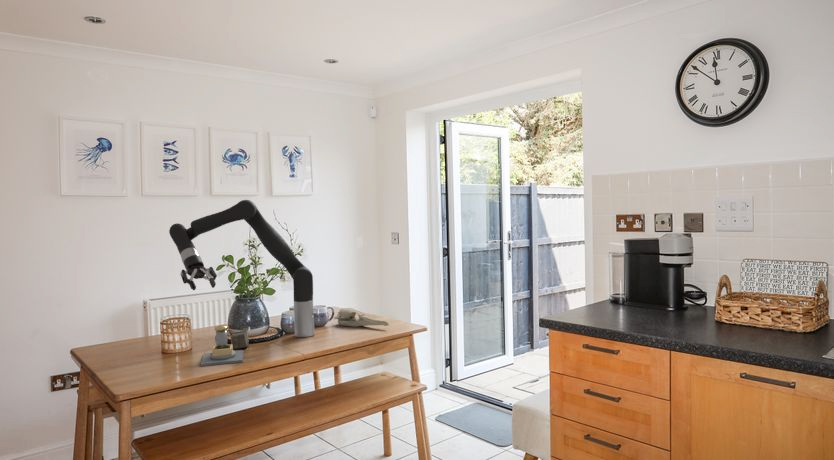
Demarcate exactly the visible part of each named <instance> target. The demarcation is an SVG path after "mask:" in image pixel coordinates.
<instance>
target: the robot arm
mask: <svg viewBox="0 0 834 460" xmlns="http://www.w3.org/2000/svg"><path fill="white" fill-rule="evenodd" d="M243 220H244V221H245V222H246V223H247V224H248V225H249V226H250V228H251V229H253V231H254V232H255V234H256V236H257V237H258V239H259V241H260V242H261V244H262V245H263V247H264V249H266V250H267V252H268V253H269V254H270V255H271V256H272V257H273V258H274V259H275V260H276V261H278V263H280V264H281V265H282V266H283V267H284V269H286V271H287V272H288V274H289V275H290V276H291V279H292V282H293V315H294V316H293V319H294V323H293V324H294V336H295V338H296V337H297V338H308V337H313V336H315V316H314V280H313V279H314V278H313V273H312V272H311V270H310V269H309V268H308V267H306V266H305V264H303V263H302V262H301V261H300V260H299V259H298V257H296V255H295V253H294V252H293V249H291V247H290V246H289V244H288V243H287V242H286V240H285V239H284V238H283V236H281V235H280V233H279V231H277V230H276V229H275V228H274V227H273V226H272V225H271V224H270V223H269V222H268V221H267V220H266V219H265V217H264V216H263V214H262V213H261V211H260V210H259V208H258V207H257V206H256V204H255V203H254V202H253V201H252V200H250V199H241V200H240V201H239V202H237V203H236V204H234V205H232V206H231V207H229V208H225V209H224V210H221V211H218V212H215V213H212V214H209V215H206V216H203V217H200V218H197V219H194V220H192V221H191V222H190V227H188V228H186V227H185V226H184V225H183V224H181V223H174V224H172V225H171V226H170V227H169V230H168V232H169V235H170V238H171V239H172V241H173V243H174V244H175V247H176V248H177V250H178V252H179V255H180V259H181V262H182V263H183V266H184V268H185V269H181V271H180V276H181V277H180V278H181V279H182V282H183V284H185V285H186V284H188V285H189V287H190V289H191V290H192V291H195V290H197V289H196V288H197V285H196V284H195V282H194V279H195V280H198V279H204V280H207V281H209V284H210V286H211V288H212V289H213V288H215V286H216V278H217V277H218V275H217V273H216V272H215V270H214V268H213V267H212V266H210V267H209V268H206V267H205V265H204V261H203V260H202V258H201V256H200V254H199V251H198V250H197V249H196V246H195V245H194V243H193V241H192V240H194V239H195V238H197V237H198V236H200V235H202V234H206V233H208V232H210V231H213V230H215V229H217V228H220V227H222V226H225V225H227V224H230V223H233V222H237V221H243ZM188 276H189V278H188Z"/></svg>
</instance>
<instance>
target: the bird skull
mask: <svg viewBox="0 0 834 460" xmlns="http://www.w3.org/2000/svg"><path fill="white" fill-rule="evenodd" d="M356 314H357V315H358V318H356ZM333 318H334V320H337V323H338V325H339V326H343V327H345V326H346V327H353V328H354V327H356V328H357V327H364V326H365V327H366V326H385V327H387V326H390V325H389V323H388V322H387V321H386V320H380V319H376V318H371V317H369V316H367V315H366V314H365V313H364V312H362V311H361V310H358V309H355V308H353V307H345V308H341V309H340V310H339V311H338V312H337V315H336V316H334V317H333Z"/></svg>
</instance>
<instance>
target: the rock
mask: <svg viewBox="0 0 834 460" xmlns="http://www.w3.org/2000/svg"><path fill="white" fill-rule="evenodd" d="M249 339H250V338H249V335H248V328H247V327H244V328H242V329H241V330H237V331H233V332H232V333H231V336H230V341H231V342H230V344H233V350H237V349H244V348H247V347H249V343H250V342H249Z"/></svg>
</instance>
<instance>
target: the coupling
mask: <svg viewBox="0 0 834 460" xmlns="http://www.w3.org/2000/svg"><path fill="white" fill-rule="evenodd" d="M228 330H229V325H228V324H220V325H216V326H214V331H215V340H216V341H215V343H216V345H215V346H217V349H228V345H229V343H228V340H229V339H228Z"/></svg>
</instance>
